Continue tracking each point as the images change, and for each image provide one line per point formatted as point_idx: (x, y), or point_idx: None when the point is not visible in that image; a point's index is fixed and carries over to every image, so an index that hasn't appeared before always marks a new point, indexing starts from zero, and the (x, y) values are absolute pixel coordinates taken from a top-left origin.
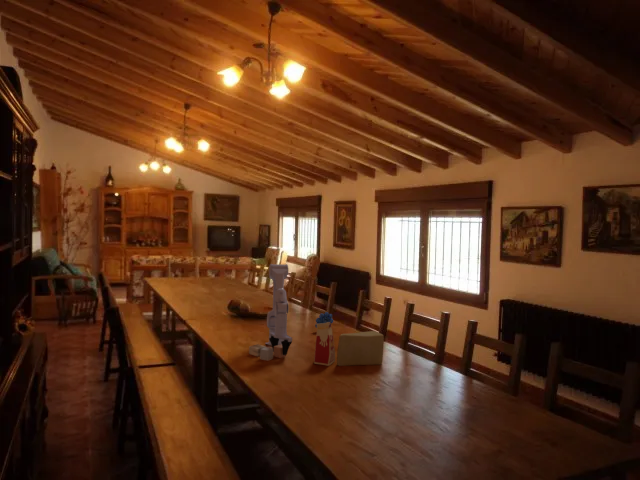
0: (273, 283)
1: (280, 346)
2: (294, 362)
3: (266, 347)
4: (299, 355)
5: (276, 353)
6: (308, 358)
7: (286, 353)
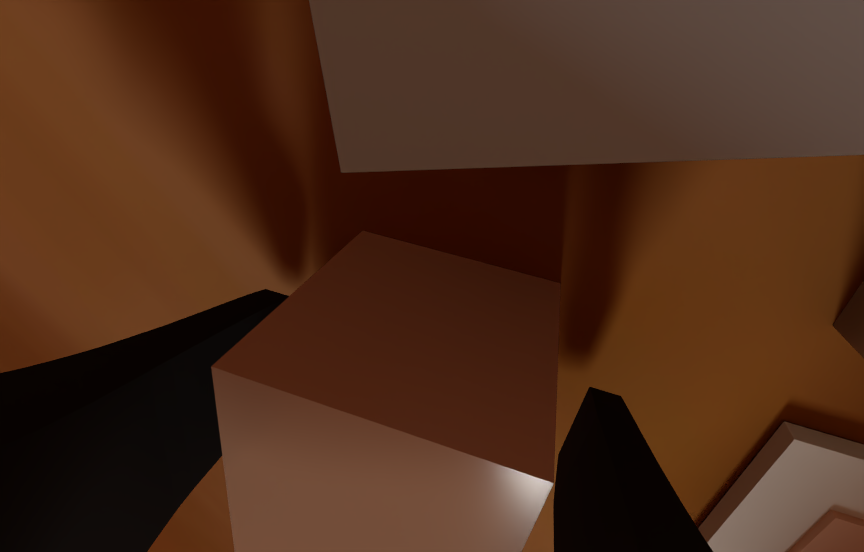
0: None
1: (342, 515)
2: (17, 149)
3: (854, 92)
4: None
5: (445, 295)
6: None
7: None
